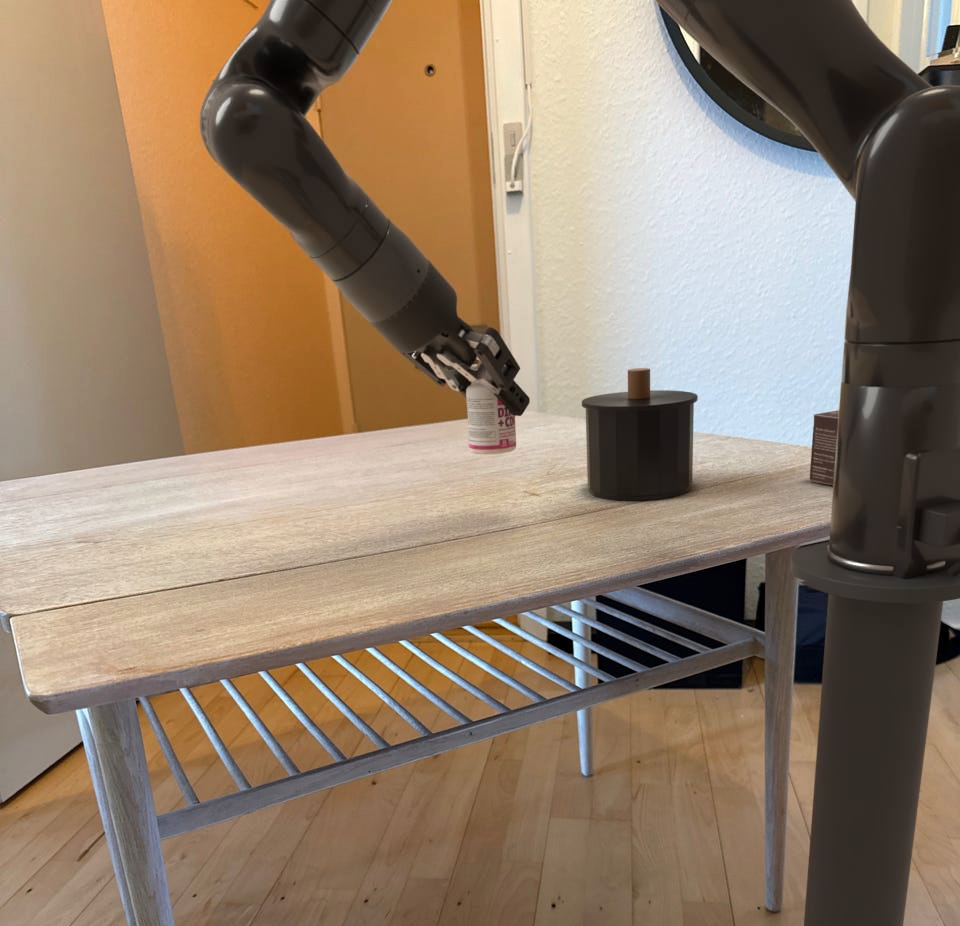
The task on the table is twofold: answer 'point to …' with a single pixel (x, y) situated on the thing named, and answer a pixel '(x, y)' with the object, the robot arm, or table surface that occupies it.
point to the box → (824, 447)
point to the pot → (640, 453)
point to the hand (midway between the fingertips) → (505, 406)
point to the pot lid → (639, 396)
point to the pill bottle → (488, 421)
